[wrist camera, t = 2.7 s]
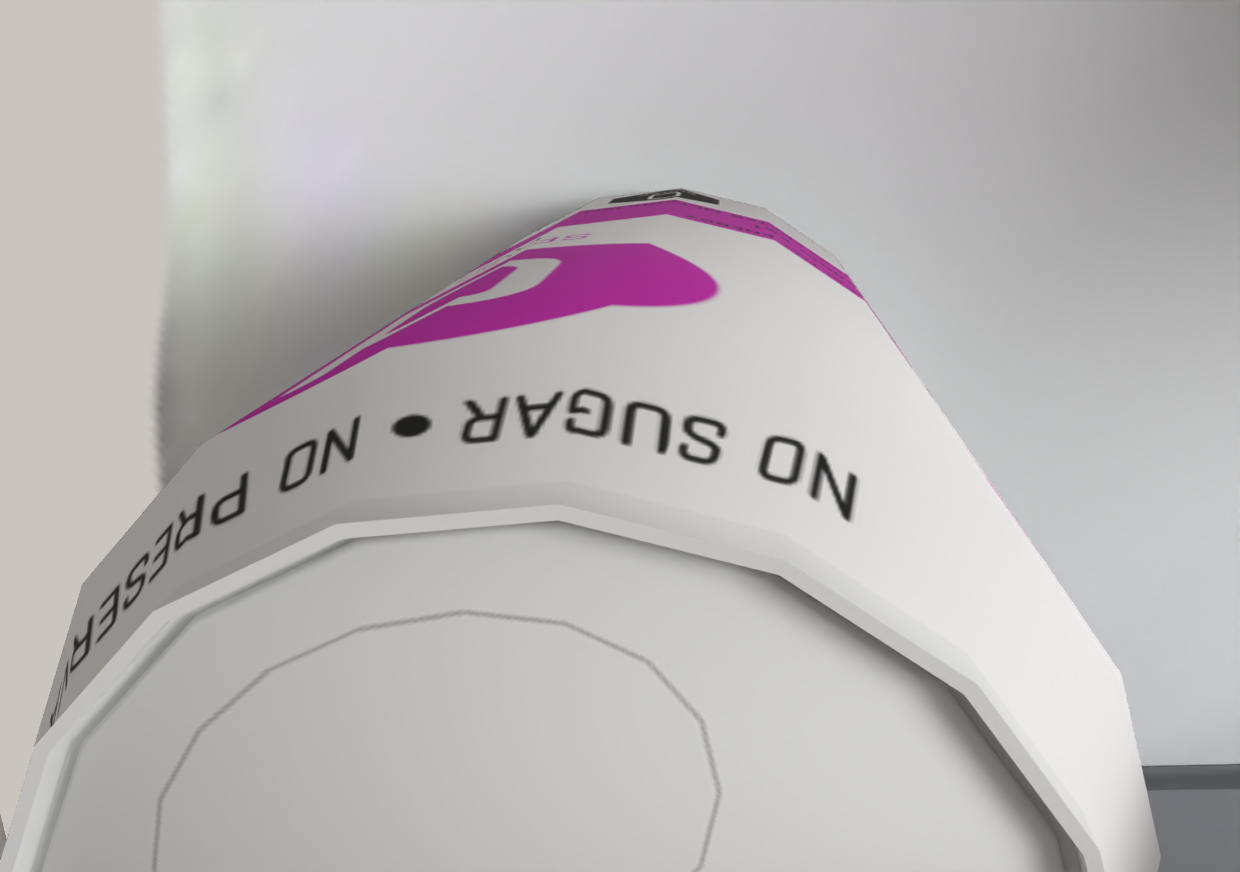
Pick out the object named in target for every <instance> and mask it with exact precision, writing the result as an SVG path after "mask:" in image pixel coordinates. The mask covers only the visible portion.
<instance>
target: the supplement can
mask: <svg viewBox="0 0 1240 872" xmlns="http://www.w3.org/2000/svg"><path fill="white" fill-rule="evenodd" d="M1160 859H1161V854H1160V850H1159V845H1158V840H1157V836H1156V831H1155V827H1154V822H1153V817H1152V813H1151V808H1150V803H1149V799H1148V794H1147V790H1146V785H1145V780H1144V776H1143V771H1142V766H1141V762H1140V757H1139V753H1138V748H1137V743H1136V739H1135V734H1134V730H1133V725H1132V720H1131V716H1130V711H1129V706H1128V702H1127V697H1126V693H1125V688H1124V683H1123V679H1122V674H1121V673H1120V671H1119V670H1118V668H1117V667H1116V666H1115V664H1114V663H1113V661H1112V660H1111V658H1110V657H1109V655H1108V654H1107V652H1106V651H1105V649H1104V648H1103V646H1102V645H1101V644H1100V642H1099V641H1098V639H1097V638H1096V636H1095V635H1094V633H1093V632H1092V630H1091V629H1090V627H1089V626H1088V624H1087V623H1086V622H1085V620H1084V619H1083V617H1082V616H1081V614H1080V613H1079V611H1078V610H1077V608H1076V607H1075V605H1074V604H1073V602H1072V601H1071V599H1070V598H1069V597H1068V595H1067V594H1066V592H1065V591H1064V589H1063V588H1062V586H1061V585H1060V583H1059V582H1058V580H1057V579H1056V577H1055V576H1054V575H1053V573H1052V572H1051V570H1050V569H1049V567H1048V566H1047V564H1046V563H1045V561H1044V560H1043V558H1042V557H1041V555H1040V554H1039V553H1038V551H1037V550H1036V548H1035V547H1034V545H1033V544H1032V542H1031V541H1030V539H1029V538H1028V536H1027V535H1026V533H1025V532H1024V530H1023V529H1022V528H1021V526H1020V525H1019V523H1018V522H1017V520H1016V519H1015V517H1014V516H1013V514H1012V513H1011V511H1010V510H1009V508H1008V507H1007V506H1006V504H1005V503H1004V501H1003V500H1002V498H1001V497H1000V495H999V494H998V492H997V491H996V489H995V488H994V486H993V485H992V484H991V482H990V481H989V479H988V478H987V476H986V475H985V473H984V472H983V470H982V469H981V467H980V466H979V464H978V463H977V461H976V460H975V459H974V457H973V456H972V454H971V453H970V451H969V450H968V448H967V447H966V445H965V444H964V442H963V441H962V439H961V438H960V437H959V435H958V434H957V432H956V431H955V429H954V428H953V426H952V425H951V423H950V422H949V420H948V419H947V417H946V416H945V415H944V413H943V412H942V410H941V409H940V407H939V406H938V404H937V403H936V401H935V400H934V398H933V397H932V395H931V394H930V393H929V391H928V390H927V388H926V387H925V385H924V384H923V382H922V381H921V379H920V378H919V376H918V375H917V373H916V372H915V370H914V369H913V368H912V366H911V365H910V363H909V362H908V360H907V359H906V357H905V356H904V354H903V353H902V351H901V350H900V348H899V347H898V346H897V344H896V343H895V341H894V340H893V338H892V337H891V335H890V334H889V332H888V331H887V329H886V328H885V326H884V325H883V324H882V322H881V321H880V319H879V318H878V316H877V315H876V314H875V312H874V311H873V309H872V308H871V306H870V305H869V304H868V302H867V301H866V299H865V298H864V297H863V295H862V294H861V292H860V291H859V289H858V288H857V287H856V285H855V284H854V282H853V281H852V280H851V278H850V277H849V275H848V274H847V273H846V271H845V270H844V268H843V267H842V265H841V264H840V263H839V261H838V260H837V258H836V257H835V256H834V255H833V254H832V253H830V252H829V251H827V250H826V249H824V248H823V247H821V246H820V245H819V244H817V243H816V242H814V241H813V240H811V239H810V238H808V237H807V236H805V235H804V234H802V233H801V232H799V231H798V230H796V229H795V228H793V227H792V226H790V225H789V224H787V223H786V222H784V221H783V220H781V219H780V218H778V217H777V216H776V215H774V214H773V213H771V212H770V211H768V210H767V209H765V208H762V207H758V206H754V205H750V204H746V203H741V202H737V201H733V200H729V199H725V198H721V197H716V196H712V195H708V194H704V193H700V192H695V191H691V190H687V189H683V188H680V189H672V190H664V191H655V192H647V193H639V194H631V195H622V196H614V197H606V198H598V199H596V200H594V201H593V202H591V203H589V204H587V205H585V206H583V207H581V208H579V209H577V210H575V211H573V212H571V213H569V214H568V215H566V216H564V217H562V218H560V219H558V220H556V221H554V222H552V223H550V224H548V225H546V226H544V227H543V228H541V229H539V230H537V231H535V232H533V233H531V234H529V235H527V236H525V237H524V238H522V239H521V240H519V241H518V242H516V243H514V244H513V245H511V246H510V247H508V248H507V249H505V250H504V251H502V252H500V253H499V254H497V255H496V256H494V257H493V258H491V259H490V260H488V261H486V262H485V263H483V264H482V265H480V266H479V267H477V268H476V269H474V270H472V271H471V272H469V273H468V274H466V275H465V276H463V277H461V278H460V279H458V280H457V281H455V282H454V283H452V284H451V285H449V286H447V287H446V288H444V289H443V290H441V291H440V292H438V293H437V294H435V295H433V296H432V297H430V298H429V299H427V300H426V301H424V302H423V303H421V304H419V305H418V306H416V307H415V308H413V309H412V310H410V311H409V312H407V313H405V314H404V315H402V316H401V317H399V318H398V319H396V320H395V321H393V322H391V323H390V324H388V325H387V326H385V327H384V328H382V329H381V330H379V331H377V332H376V333H374V334H373V335H371V336H370V337H368V338H367V339H365V340H363V341H362V342H360V343H359V344H357V345H356V346H354V347H353V348H351V349H349V350H348V351H346V352H345V353H343V354H342V355H340V356H339V357H337V358H335V359H334V360H332V361H331V362H329V363H328V364H326V365H324V366H323V367H321V368H320V369H318V370H317V371H315V372H314V373H312V374H310V375H309V376H307V377H306V378H304V379H303V380H301V381H300V382H298V383H296V384H295V385H293V386H292V387H290V388H289V389H287V390H286V391H284V392H282V393H281V394H279V395H278V396H276V397H275V398H273V399H272V400H270V401H268V402H267V403H265V404H264V405H262V406H261V407H259V408H258V409H256V410H254V411H253V412H251V413H250V414H248V415H247V416H245V417H244V418H242V419H240V420H239V421H237V422H236V423H234V424H233V425H231V426H230V427H228V428H226V429H225V430H223V431H222V432H220V433H219V434H217V435H216V436H214V437H212V438H211V439H209V440H208V441H206V442H205V443H203V444H202V445H200V446H199V447H198V448H197V450H196V451H195V452H194V453H193V454H192V456H191V457H190V458H189V459H188V460H187V461H186V463H185V464H184V465H183V466H182V467H181V469H180V470H179V471H178V472H177V473H176V474H175V476H174V477H173V478H172V479H171V480H170V481H169V483H168V484H167V485H166V486H165V487H164V489H163V490H162V491H161V492H160V493H159V494H158V496H157V497H156V498H155V499H154V500H153V502H152V503H151V504H150V505H149V506H148V507H147V509H146V510H145V511H144V512H143V514H142V515H141V516H140V517H139V518H138V519H137V520H136V522H135V523H134V524H133V525H132V526H131V528H130V529H129V530H128V531H127V532H126V533H125V535H124V536H123V537H122V538H121V539H120V541H119V542H118V543H117V544H116V545H115V546H114V548H113V549H112V550H111V551H110V552H109V554H108V555H107V556H106V557H105V558H104V559H103V561H102V562H101V563H100V564H99V565H98V566H97V568H96V569H95V570H94V571H93V572H92V574H91V575H90V576H89V577H88V578H87V580H86V581H85V582H84V583H83V584H82V588H81V591H80V594H79V598H78V601H77V604H76V608H75V611H74V614H73V618H72V621H71V624H70V628H69V631H68V634H67V638H66V641H65V645H64V648H63V651H62V655H61V658H60V662H59V665H58V668H57V671H56V675H55V678H54V681H53V685H52V688H51V692H50V695H49V698H48V702H47V705H46V708H45V712H44V715H43V718H42V722H41V725H40V729H39V733H38V735H37V739H36V742H35V745H34V750H33V754H32V757H31V760H30V764H29V767H28V770H27V774H26V777H25V780H24V784H23V787H22V790H21V794H20V797H19V800H18V804H17V807H16V811H15V814H14V817H13V821H12V824H11V827H10V831H9V834H8V837H7V841H6V844H5V847H4V851H3V854H2V857H1V861H0V872H1158V868H1159V864H1160Z"/></svg>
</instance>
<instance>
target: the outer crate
mask: <svg viewBox="0 0 1240 872" xmlns="http://www.w3.org/2000/svg"><path fill="white" fill-rule="evenodd" d="M1142 771H1143V776H1144V780H1145V785H1146V790H1147V794H1148V799H1149V803H1150V808H1151V813H1152V817H1153V822H1154V827H1155V831H1156V836H1157V840H1158V845H1159V850H1160V854H1161V859H1160V864H1159V868H1158V872H1240V765H1208V766H1165V767H1142Z"/></svg>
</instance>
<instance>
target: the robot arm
mask: <svg viewBox="0 0 1240 872" xmlns="http://www.w3.org/2000/svg"><path fill="white" fill-rule="evenodd" d="M6 841H7V839H6V835H5V831H4V828H3V823H2V820H1V816H0V860H1V857H2V854H3V851H4V847H5V844H6Z"/></svg>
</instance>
